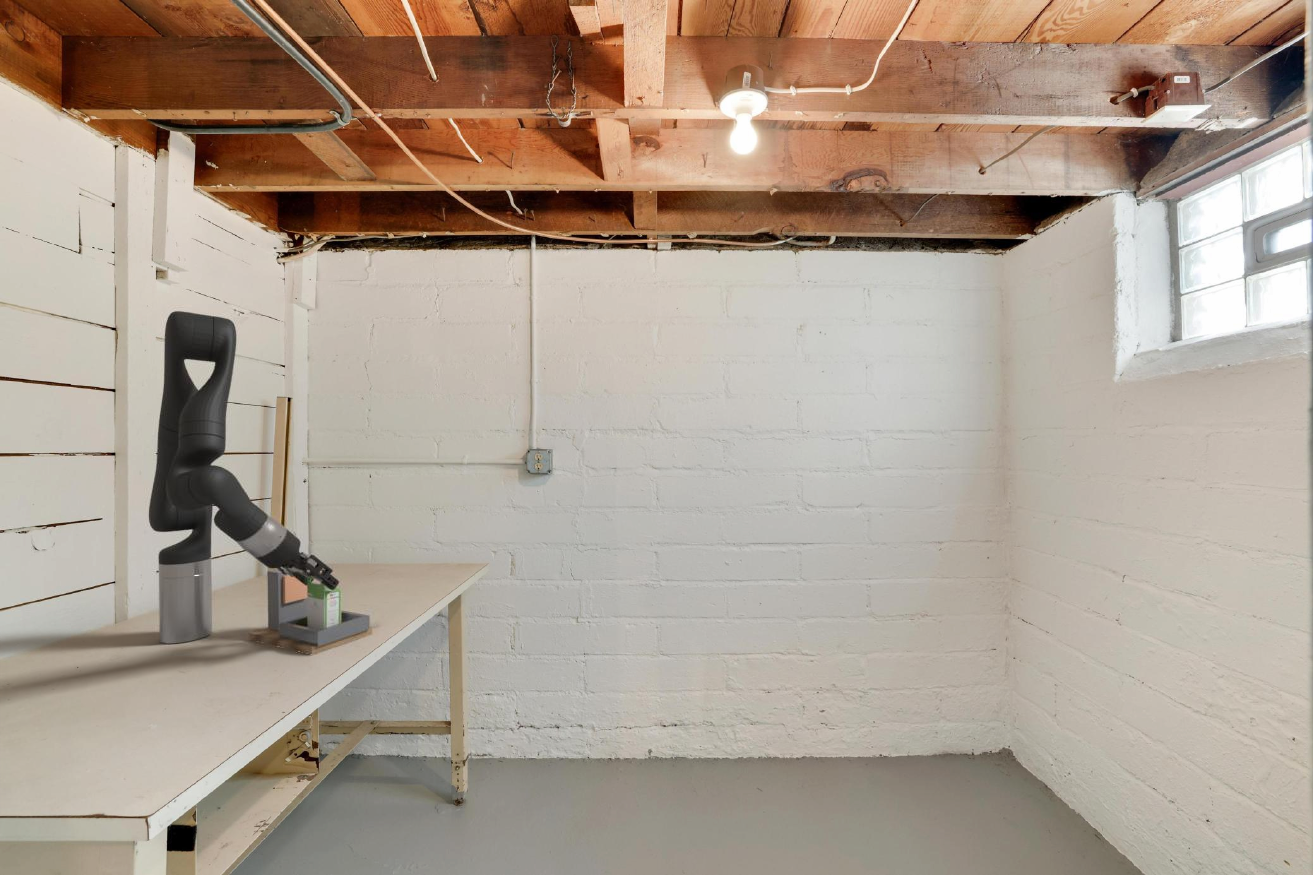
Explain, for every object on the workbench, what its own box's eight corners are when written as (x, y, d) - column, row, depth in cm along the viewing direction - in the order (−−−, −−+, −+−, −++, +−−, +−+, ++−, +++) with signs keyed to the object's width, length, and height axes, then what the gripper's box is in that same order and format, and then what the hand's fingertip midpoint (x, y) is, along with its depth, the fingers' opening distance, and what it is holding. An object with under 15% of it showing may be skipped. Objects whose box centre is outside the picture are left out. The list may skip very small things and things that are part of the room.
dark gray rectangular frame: (263, 633, 128) (262, 620, 128) (316, 618, 139) (315, 605, 139) (318, 646, 119) (317, 631, 119) (369, 628, 130) (369, 615, 130)
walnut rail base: (249, 639, 129) (249, 632, 129) (310, 621, 141) (310, 615, 141) (311, 655, 119) (311, 647, 119) (372, 633, 131) (372, 627, 131)
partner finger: (268, 628, 131) (267, 571, 131) (299, 619, 138) (298, 564, 138) (281, 631, 129) (280, 573, 129) (311, 622, 135) (311, 566, 135)
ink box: (342, 633, 127) (341, 572, 127) (324, 638, 124) (323, 576, 124) (325, 628, 131) (324, 568, 131) (306, 633, 128) (306, 572, 128)
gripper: (303, 527, 116) (355, 572, 127) (260, 523, 123) (313, 566, 133) (276, 559, 112) (332, 603, 122) (233, 553, 118) (290, 595, 128)
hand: (322, 584), depth 127 cm, fingers open, 8 cm apart
